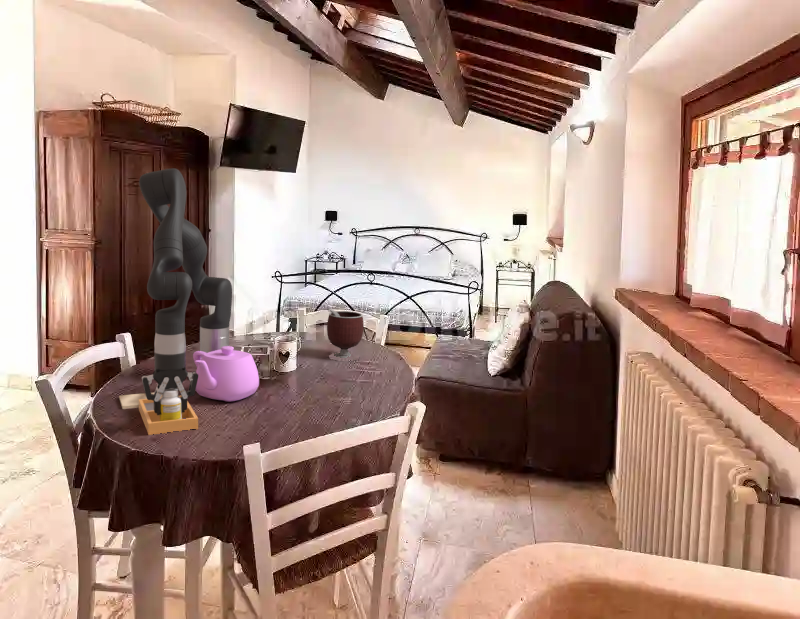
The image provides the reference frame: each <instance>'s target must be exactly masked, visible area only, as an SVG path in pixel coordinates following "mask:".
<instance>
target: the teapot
mask: <svg viewBox="0 0 800 619" xmlns="http://www.w3.org/2000/svg"><path fill="white" fill-rule="evenodd" d="M201 356H202V358H201ZM192 358H193V362H194V365H195V366H196V371H195V372H196V373H197V374H198V381H197V385H196V390H195V392H197V394H198V395H199V396H202V397H204V398H207V399H212V400H218V401H223V402H227V403H230V402H231V403H233V402H235V401H241V400H242V399H245V398H248V397H250V396H252V395H254V394H255V393H256V392H257V391H258V388H259V386H260V378H259V371H258V369H257V368H258V367H257V365H256V363H255V360H254V357H253V355H252V354H251V353H249V352H246V351H242V350H236V349H234V347H233V346H231V345H229V346H223V347H221V349H220V350H215V351H212V352H209V353H206V352H203V351H200V350H197V351H194V352H193V354H192Z"/></svg>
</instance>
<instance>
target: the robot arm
mask: <svg viewBox="0 0 800 619" xmlns="http://www.w3.org/2000/svg"><path fill="white" fill-rule="evenodd" d="M138 184H139V188H140V191H141V194H142V196H143V198H144V200H145V201H146V202H145V203H146V204H147V205H148V207H149V208H150V210H151V212H152V213H153V215H154V217H155V219H156V220H157V221H158V222H159V224H158V227H157V229H156V231H155V233H154V238H153V264H152V269H151V271H150V273H149V277H148V280H147V283H146V289H147V290H146V291H147V294H148V295H149V297H150V298H152V299H153V300H157V301H175V300H176V302H175V303H174V304H173V305H171V306H169V307H165V308H161V309H159V310H156V312H155V318H154V321H155V322H154V323H155V324H154V326H155V329H154V331H155V335H154V346H153V347H154V371H153V372H152V374H149V375H144V374H143V375H141V380H142V381H141V382H142V387H143V390H144V391H143V392H144V393H145V395H146V397H147V399H148V400H153V401H154V412H155V413H157V415H160V400H159V399H160V397H161V395H162V393H163V391H164V389H170V388H174V389H175V388H178V392H179V393H180V396H181V395H182V397H181V406H182V413H183V412H185V410H187V401H188V399H189V398H190V397H192V396H193V397H194V396H195V393H196V385H197V381H198V374H197V373H196V371H195V370H194V371H192V372H190V371H187V367H186V365H187V364H186V363H187V362H186V360H187V359H186V355H187V354H186V353H187V351H186V350H187V344H186V343H187V342H186V334H185V333H186V332H185V331H186V330H185V329H186V328H185V327H186V326H185V325H186V322H185V319H186V311H187V306H188V302H189V299H190V296H191V293H193V295H194V298H195V300H196V301H197V302H198V303H200V304H201V305H203V306H213V307H214V311H213V313H210V314H207V315H203V316H202V317H200V319H199V351H203V352H206V353H209V352H212V351H215V350H220V349H221V347H223V346H230V323H231V322H230V321H231V318H232V304H233V286H232V282H231V280H230V279H228V278H225V277H216V276H208V275H207V274H206V272H205V270H204V268H203V266H204V263H205V261H206V258H207V254H208V246H207V244H206V241H205V239H204V237H203V235H202V232H201V231H200V229H199V228H198V227H197V226H196V225H195V224H194V223H192V222H191V221H190V220H188V219H186V218H185V213H186V212H185V211H186V203H187V186H186V185H187V184H186V181H185V179H184V177H183V174H182V172H181V171H180V170H179V169H178V168H172V167H171V168H165V169H161V170H155V171H150V172H146V173H144V174H142V175H140V177H139V180H138ZM181 266H182V269H183V270H184V272H183V271H176V272H175V270H177V269H179V268H181ZM173 271H174V272H173ZM201 358H202V356H201ZM187 378H188V380H189V385H188V386H189V387H188V390H186V389H185V388H184V385H183V383H184V381H185V380H186V379H187ZM153 380H154V381H155V382H156V383H157V384H156V388H155V390H154V392H155V393H154V392H153V393H154V394H151V393H152V391H151V388H150V385H151V384H152V381H153Z"/></svg>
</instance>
